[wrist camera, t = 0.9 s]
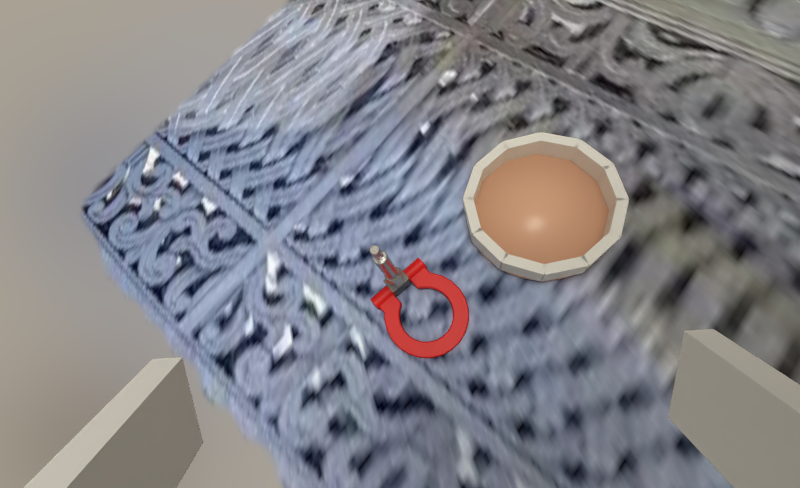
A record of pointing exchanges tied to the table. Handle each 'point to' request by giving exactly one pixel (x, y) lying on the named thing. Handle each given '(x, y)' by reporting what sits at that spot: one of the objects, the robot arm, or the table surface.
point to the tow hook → (392, 305)
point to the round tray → (544, 206)
